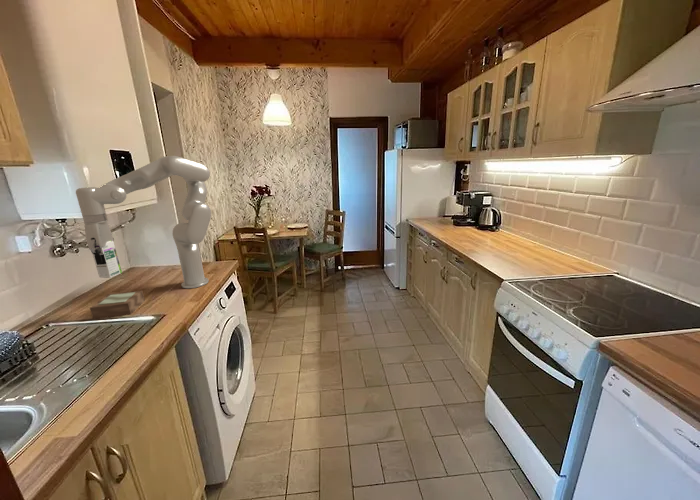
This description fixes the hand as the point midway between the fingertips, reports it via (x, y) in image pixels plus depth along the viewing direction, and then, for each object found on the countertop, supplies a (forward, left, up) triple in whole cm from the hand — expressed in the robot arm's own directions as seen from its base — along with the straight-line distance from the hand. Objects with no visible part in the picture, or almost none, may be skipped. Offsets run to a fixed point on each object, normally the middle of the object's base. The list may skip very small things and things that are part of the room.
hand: (106, 261), depth 132 cm
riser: (0, 0, -22) cm, 22 cm away
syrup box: (0, 0, -6) cm, 6 cm away
